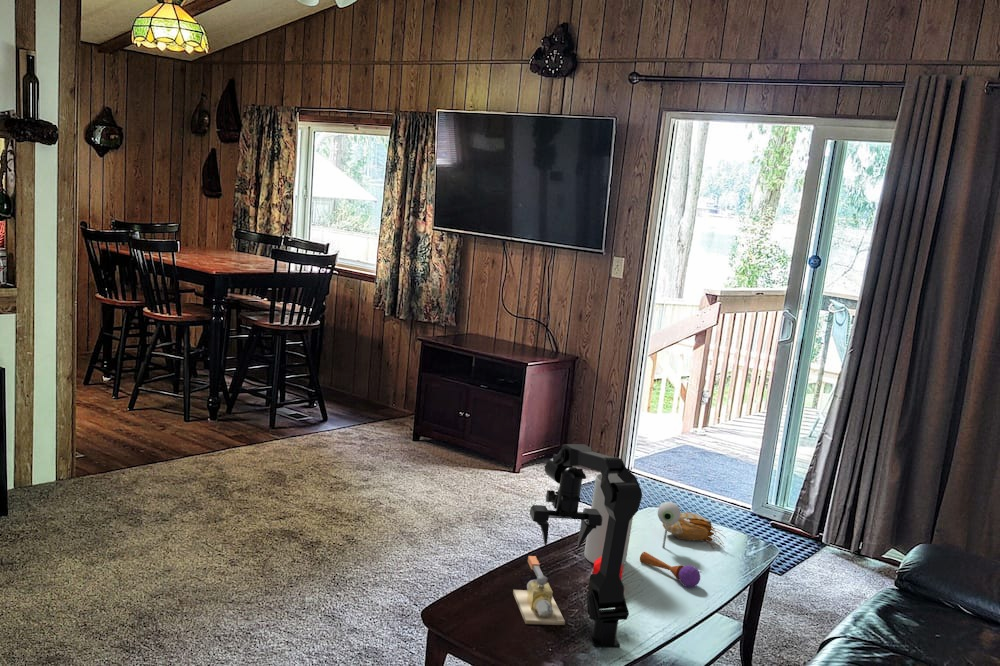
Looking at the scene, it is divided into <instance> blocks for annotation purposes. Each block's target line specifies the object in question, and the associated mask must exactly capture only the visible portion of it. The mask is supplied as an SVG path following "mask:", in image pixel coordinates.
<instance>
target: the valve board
mask: <svg viewBox="0 0 1000 666" xmlns="http://www.w3.org/2000/svg"><path fill="white" fill-rule="evenodd" d="M512 590H513V591H512V594H513V596H514V599H515V601H516V604H517V606H518V609H519V611H520V614H521V616H522V619H523V621H524V624H525V625H548V626H549V625H553V626H554V625H555V626H561V625H562V626H565V624H566V620H565V619H564V617H563V615H562V613H561V610H560V609H559V606H558V604H557V603H556V601H555V599H554V596H553V595H552V601H551V603H552V610H553V613H552V615H551V616H550V617H549V618H547V619H543V618H541V617H540V616H539V614H538V613H536V612H535V610H531V608H530V606H529V604H528V601H527V596H528V594H527V590H528V589H524V590H523V589H512Z"/></svg>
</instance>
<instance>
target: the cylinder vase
mask: <svg viewBox="0 0 1000 666" xmlns="http://www.w3.org/2000/svg"><path fill="white" fill-rule="evenodd" d="M601 479H602V474H601V472H600V473H598V474H596V475H595V480H594V487H593V493H592V501H591V507H590V509H597V510H598V512H599V513H600V514H601V516H602V525H601V526H597V527H596V528H595V529H592V531H591V532H590V533H589V534H588V535H587V537H586V538H585V540H586V541H585V547H584V553H583V554H584V555H583V556H584V557H585V560H587V561H589V562H590V563H592V564H594V563H595V561H596V560H597V559H599V558H600V557H602V553H603V548H604V542H605V536H606V530H607V525H608V519H609V514H608V512H607V510H606V507H605V505H604V502H605V497H604V494H603V492H602V489H601V487H600V484H601ZM608 479H609V481H610V483H619V482H624V481H623V480H621V479H620V478H619V477H618V475H617V474H609V475H608ZM633 517H634V516H633ZM633 517H632V518H631V520H630V521H629V526H628V532H627V537H626V543H625V548H624V554H623V560H622V566H623V565H625V564H626V562H627V556H628V550H629V544H630V537H631V530H632V526H633V525H632V524H633V520H634V519H633Z"/></svg>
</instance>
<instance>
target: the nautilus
mask: <svg viewBox="0 0 1000 666" xmlns="http://www.w3.org/2000/svg"><path fill="white" fill-rule="evenodd" d="M714 526H717V527H718V525H716V524H712V522H711V520H709V519H707V518H705V517H704V516H702V515H699V514H697V513H692V512H681V515H680V519H679V520H678V522H676V523H675V524H673V525H668V529H667V533H671V534H672V535H674V537H676V538H678V539H680V540H686V541H700V542H705V543H708V544H709V545H710V547H712V549H713V550H714V546H715V547H716V546H717V547H721V546H722V547H724V542H723V541H722V539H721V538H720V537H719V536H717V533H718V534H719V535H721V536H723V537H724V538H725V539H727V538H726V536H725V535H724V534H722V533H720V532H721V531H722V530H720V529H718V528H716V527H714ZM662 527H663V528H664V529H665V528H666V524H664V523H662ZM712 541H713V542H712ZM720 541H721V542H720ZM714 542H716V543H718V544H716V543H714ZM720 545H721V546H720Z"/></svg>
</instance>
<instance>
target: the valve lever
mask: <svg viewBox="0 0 1000 666" xmlns="http://www.w3.org/2000/svg"><path fill="white" fill-rule="evenodd" d="M527 563H528V565H529V568H530V570H533V573H534V575H535V576H536V580H537V583H539V584H543V585H544V584H547V583H548V577H547V576H545V575H544V573H543V572H542V570H541V568H540V562H539V559H538V558H537V556H536V555H528V557H527Z"/></svg>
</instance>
